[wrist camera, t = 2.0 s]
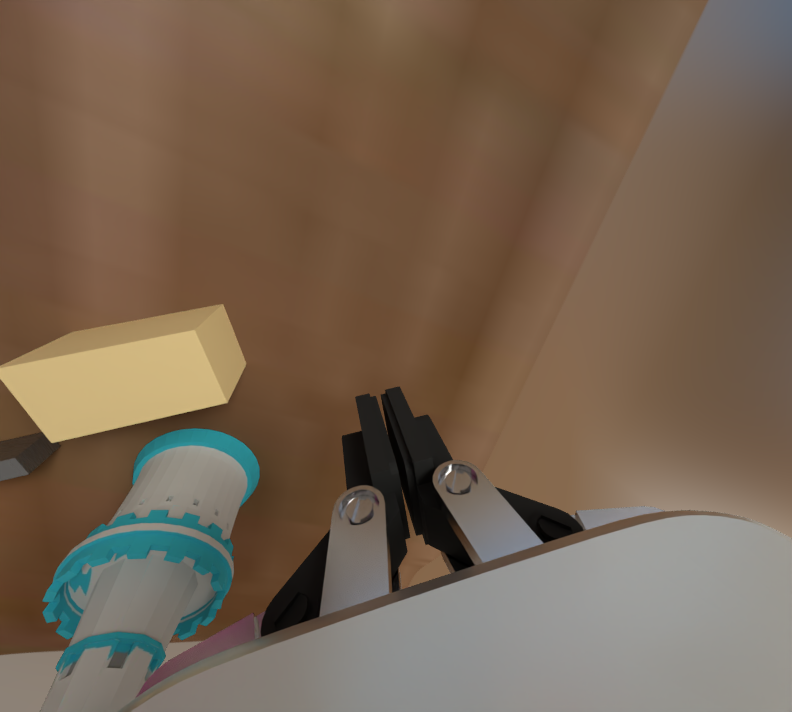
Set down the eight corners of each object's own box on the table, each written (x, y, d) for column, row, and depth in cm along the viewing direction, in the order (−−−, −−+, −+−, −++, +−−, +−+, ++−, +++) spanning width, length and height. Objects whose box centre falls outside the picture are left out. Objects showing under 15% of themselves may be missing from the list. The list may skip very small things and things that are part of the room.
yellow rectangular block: (40, 337, 22) (-52, 378, 16) (223, 303, 23) (194, 329, 18) (82, 398, 24) (13, 451, 18) (246, 363, 25) (227, 402, 20)
